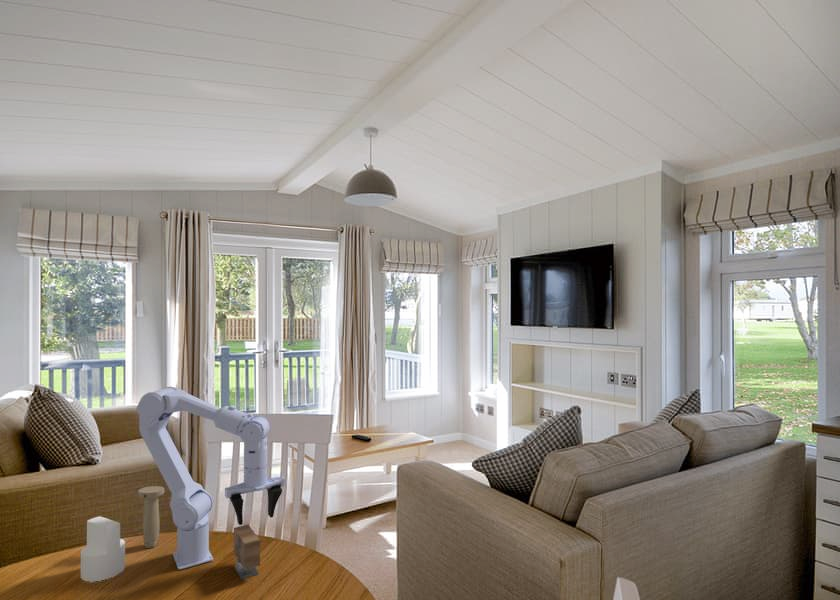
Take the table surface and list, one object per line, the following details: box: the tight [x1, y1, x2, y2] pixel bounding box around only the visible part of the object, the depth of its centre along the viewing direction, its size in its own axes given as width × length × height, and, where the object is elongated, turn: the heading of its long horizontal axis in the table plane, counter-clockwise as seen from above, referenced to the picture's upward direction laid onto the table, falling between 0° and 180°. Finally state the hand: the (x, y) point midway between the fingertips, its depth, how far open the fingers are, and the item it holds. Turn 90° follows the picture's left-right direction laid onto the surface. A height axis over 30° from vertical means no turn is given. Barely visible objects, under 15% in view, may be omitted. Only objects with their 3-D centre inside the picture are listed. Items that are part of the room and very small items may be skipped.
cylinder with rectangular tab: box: [80, 516, 126, 583], centre depth 119 cm, size 9×9×12 cm
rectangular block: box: [233, 524, 261, 570], centre depth 119 cm, size 10×4×6 cm, turn 34°
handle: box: [137, 485, 165, 549], centre depth 132 cm, size 5×6×15 cm
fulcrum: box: [234, 558, 259, 580], centre depth 119 cm, size 6×4×3 cm, turn 34°
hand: (255, 519), depth 125 cm, fingers open, 7 cm apart
